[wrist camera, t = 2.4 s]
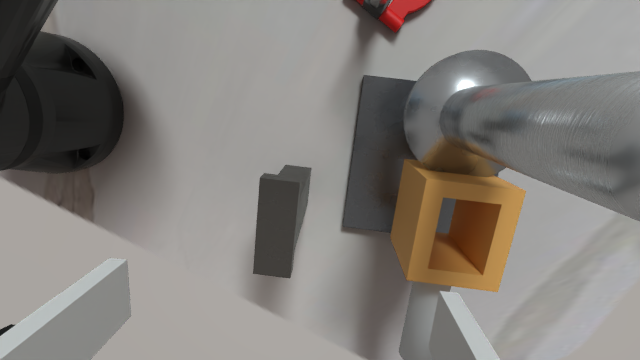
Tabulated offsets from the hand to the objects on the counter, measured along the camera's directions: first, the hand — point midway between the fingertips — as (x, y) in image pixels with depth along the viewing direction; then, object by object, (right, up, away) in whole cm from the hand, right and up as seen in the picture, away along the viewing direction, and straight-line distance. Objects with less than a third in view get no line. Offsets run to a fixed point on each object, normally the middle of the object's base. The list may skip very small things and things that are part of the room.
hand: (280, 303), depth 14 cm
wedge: (-1, +5, +25) cm, 25 cm away
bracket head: (+12, -2, +19) cm, 23 cm away
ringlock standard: (+14, +9, +23) cm, 28 cm away
